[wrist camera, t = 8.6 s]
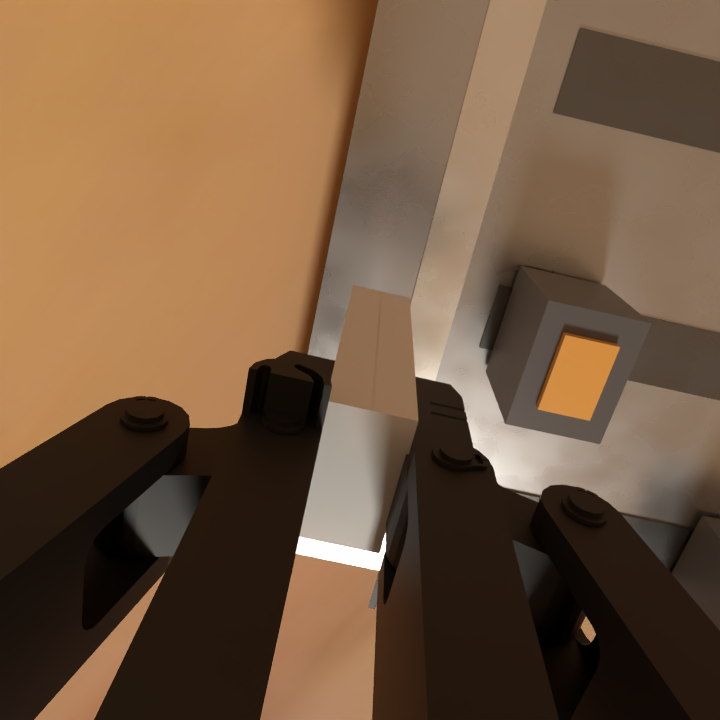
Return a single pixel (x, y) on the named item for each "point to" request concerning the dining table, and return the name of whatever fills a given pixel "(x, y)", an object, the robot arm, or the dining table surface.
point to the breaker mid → (563, 354)
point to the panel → (547, 225)
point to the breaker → (702, 567)
